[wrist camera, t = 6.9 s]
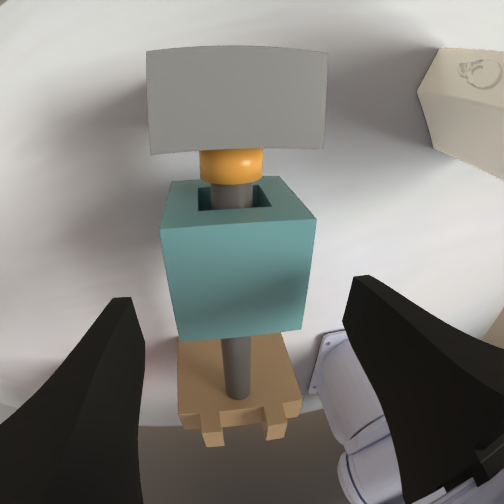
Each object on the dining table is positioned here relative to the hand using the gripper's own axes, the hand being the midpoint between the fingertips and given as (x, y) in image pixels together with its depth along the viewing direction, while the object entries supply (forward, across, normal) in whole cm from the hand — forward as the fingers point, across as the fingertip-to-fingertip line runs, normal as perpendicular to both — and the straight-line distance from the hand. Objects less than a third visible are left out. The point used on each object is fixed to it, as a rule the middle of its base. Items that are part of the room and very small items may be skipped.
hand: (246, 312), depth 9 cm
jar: (+10, -17, -8) cm, 21 cm away
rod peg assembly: (+9, 0, +3) cm, 10 cm away
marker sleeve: (+6, 0, 0) cm, 6 cm away
